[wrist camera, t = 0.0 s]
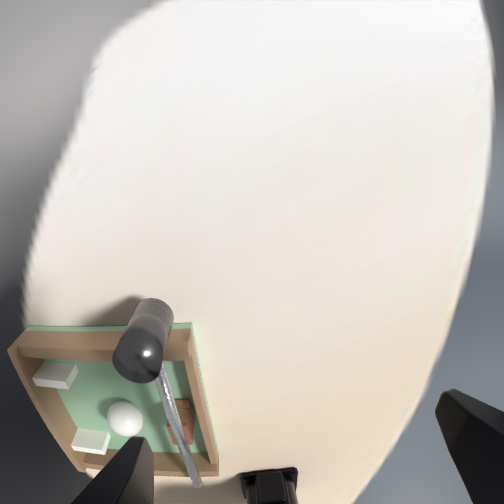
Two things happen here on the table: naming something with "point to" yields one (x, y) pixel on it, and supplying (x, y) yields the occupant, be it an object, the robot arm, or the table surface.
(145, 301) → the rubber mallet
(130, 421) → the ball
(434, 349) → the table surface
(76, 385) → the pitch
